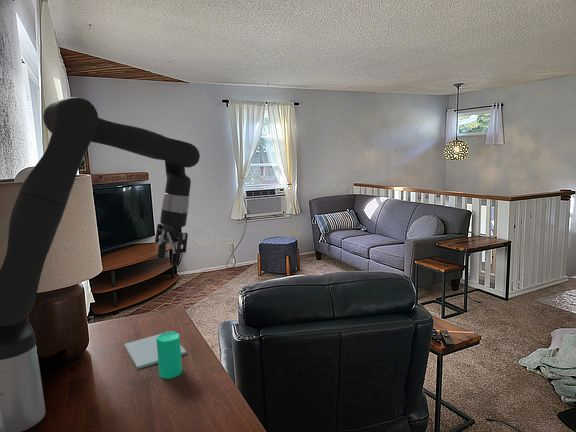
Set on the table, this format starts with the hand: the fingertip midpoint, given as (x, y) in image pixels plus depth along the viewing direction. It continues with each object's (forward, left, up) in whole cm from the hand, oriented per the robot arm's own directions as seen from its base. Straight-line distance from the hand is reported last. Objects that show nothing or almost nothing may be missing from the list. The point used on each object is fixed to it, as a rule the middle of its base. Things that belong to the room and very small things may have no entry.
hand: (167, 261), depth 116 cm
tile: (-6, +2, -26) cm, 27 cm away
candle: (-12, -12, -27) cm, 32 cm away
